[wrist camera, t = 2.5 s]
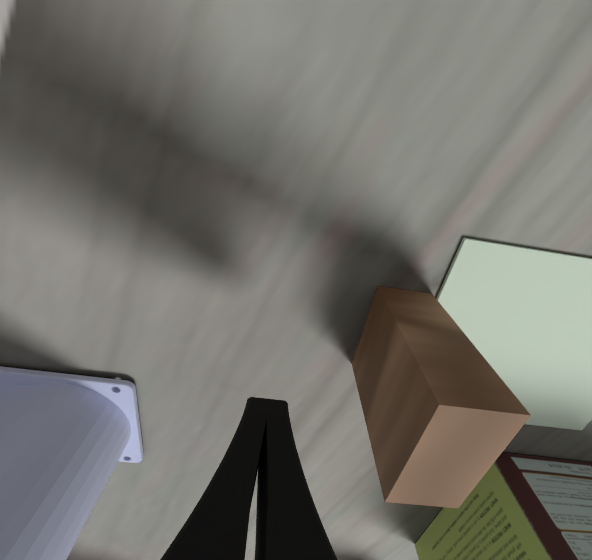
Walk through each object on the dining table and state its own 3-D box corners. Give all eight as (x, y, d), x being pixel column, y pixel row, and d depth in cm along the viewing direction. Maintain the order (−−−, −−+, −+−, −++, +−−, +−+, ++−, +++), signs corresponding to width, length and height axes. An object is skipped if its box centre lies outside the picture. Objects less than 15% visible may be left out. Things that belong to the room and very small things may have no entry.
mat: (387, 406, 20) (388, 409, 20) (463, 237, 14) (465, 238, 14) (579, 427, 21) (581, 430, 21) (716, 278, 15) (721, 280, 15)
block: (351, 363, 18) (384, 501, 11) (377, 285, 16) (439, 404, 9) (399, 369, 18) (458, 508, 12) (431, 293, 16) (530, 415, 9)
